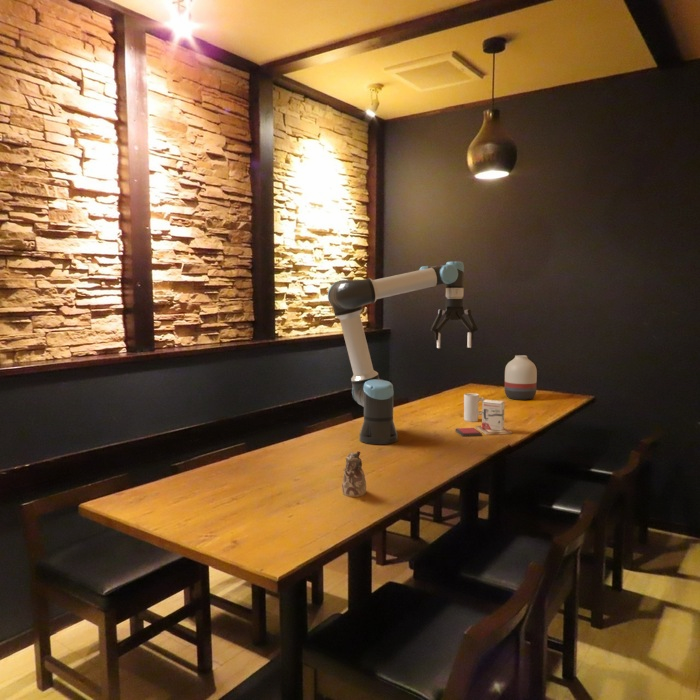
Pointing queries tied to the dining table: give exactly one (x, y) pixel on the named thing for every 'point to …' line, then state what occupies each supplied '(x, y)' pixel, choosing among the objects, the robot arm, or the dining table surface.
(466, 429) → the ink pad
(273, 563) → the dining table surface
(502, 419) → the ink box
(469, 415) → the mug
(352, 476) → the figurine
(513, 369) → the vase
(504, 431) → the board
